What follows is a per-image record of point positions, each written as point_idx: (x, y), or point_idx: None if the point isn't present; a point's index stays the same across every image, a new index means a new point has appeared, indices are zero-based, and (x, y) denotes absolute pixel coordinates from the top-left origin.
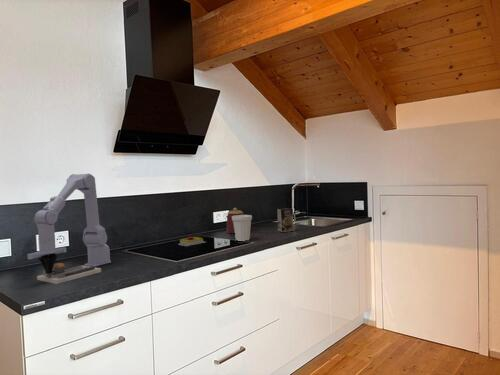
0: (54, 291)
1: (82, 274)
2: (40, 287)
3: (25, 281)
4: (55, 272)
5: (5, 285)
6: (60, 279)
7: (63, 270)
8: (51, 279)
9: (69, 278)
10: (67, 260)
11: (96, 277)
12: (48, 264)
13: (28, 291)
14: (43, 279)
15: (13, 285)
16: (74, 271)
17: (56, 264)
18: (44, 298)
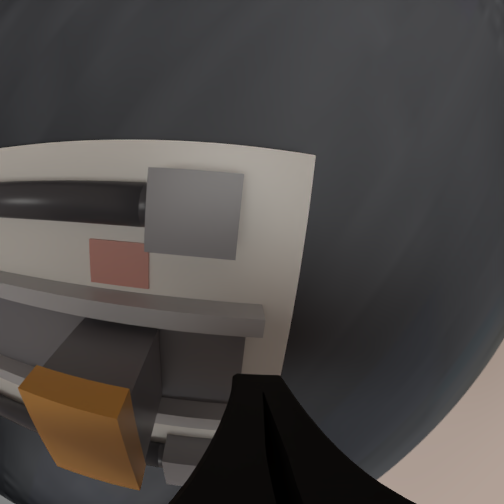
0: (432, 9)
1: (3, 149)
2: (422, 220)
3: None
4: (156, 394)
5: (393, 464)
6: (252, 148)
7: (76, 340)
8: (300, 264)
9: (132, 142)
10: (18, 496)
11: (16, 28)
12: (331, 473)
13: (494, 215)
14: None
15: (393, 441)
16: (15, 198)
17: (117, 462)
18: (496, 2)
